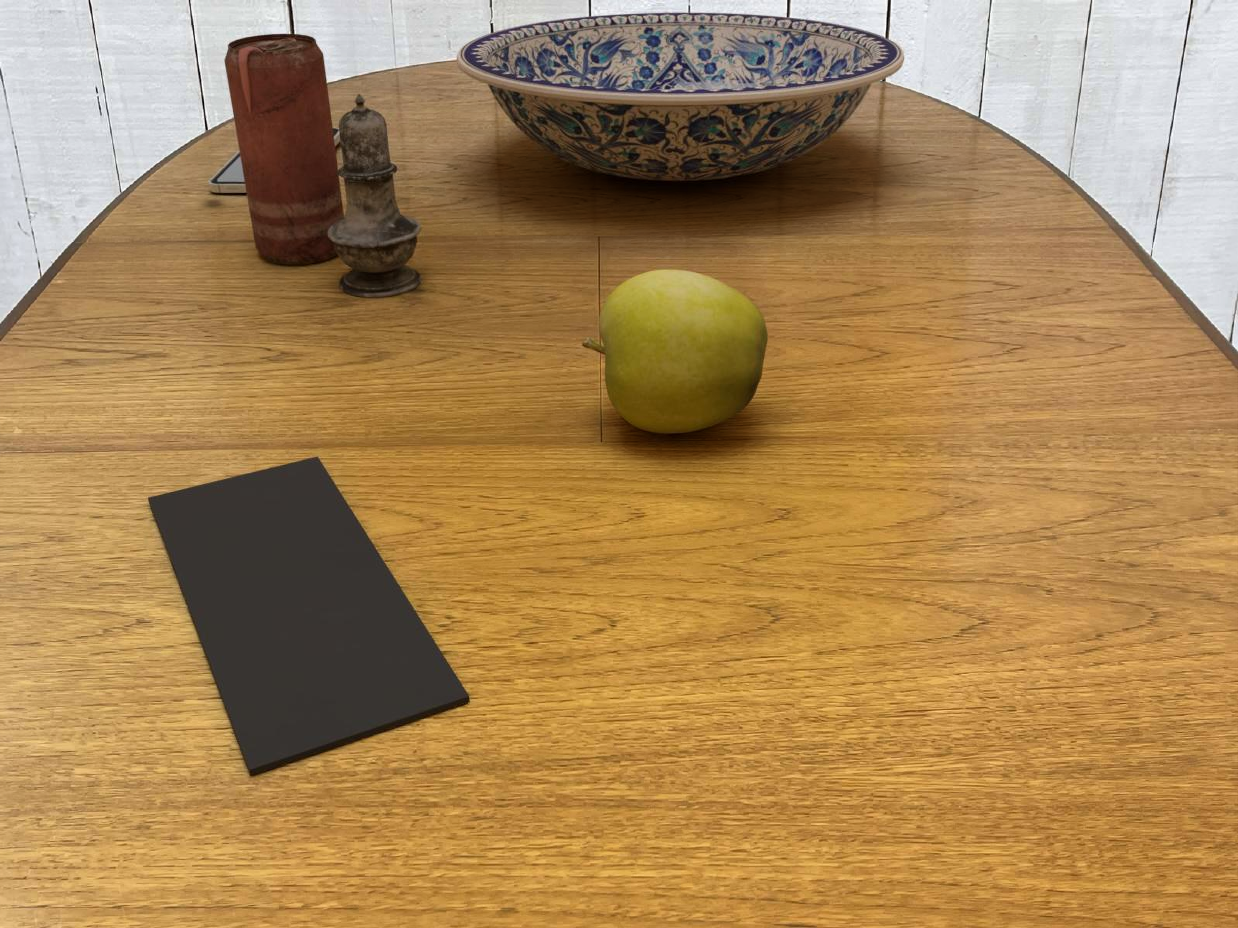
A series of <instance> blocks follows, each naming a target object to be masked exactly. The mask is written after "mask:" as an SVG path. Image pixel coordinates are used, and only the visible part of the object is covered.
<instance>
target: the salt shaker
mask: <svg viewBox="0 0 1238 928" xmlns="http://www.w3.org/2000/svg"><path fill="white" fill-rule="evenodd" d="M366 101H367V100H366V99H364V96H362V94H361V93H358V94H357V96H356V97H355V100H353V103H355V104H356V106H354V107H353V108H352V109H351V110H348V111H347V112H345V113H344V114H343V115H342V116H341V117H340V118H339V121H338V128H339V133H340V141H339V142H340V148H341V156H342V164H343V165H342V166H341V167H339V168H338V175H339V177H340V178H342V179H343V182H344V183H343V184H344V191H345V199H346V206H345V208H346V209H345V214H344V219H343V220H341V221H339V222H336V223H335V224H333V225H332V226H331V227H330V228H329V230H328V231H327V233H328V237H329V238H330V239H331V241H333V242H334V247H335V250H336V252H337V254H338V255H337V256H338V257H339V259H340V260H341V261H342V263H344V265H347V267H349V268H350V270H349V271H347V272H346V273H345V274H343V276H342V277H340V279H339V280H338V286H339V287H338V288H339V289H340V290H341V291H342V292H343V293H346V294H347V295H350V296H355V297H359V298H360V297H361V298H386V297H392V296H393V297H394V296H397V295H401V294H404V293H407V292H410V291H412V290H413V289H415V288H417V287H418V286H419V285H420V284H421V283H422V275H421V273H420V272H419V271H417V270H416V269H415V268H413V267H410V266H408V265H407V263H408V262H409V261H410V259H411V258H412V257H414V254H415V251H416V247H417V245H418V235H419V234H420V232H421V230H422V225H421V222H419V221H418V220H417V219H416V218H414V217H411V216H409V215H404V214H401V212H400V208H399V206H398V203H397V199H396V191H395V183H394V182H395V181H394V174H395V173H396V172H397V171H398V166H397V165H396V164H395V163H393V162H391V157H390V147H389V136H388V127H387V122H386V118H385V117H384V116H383V115H382V113H380V112H378V111H377V110H374V109H370V108H369V107H368V106H365V102H366Z"/></svg>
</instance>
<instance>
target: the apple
mask: <svg viewBox="0 0 1238 928" xmlns="http://www.w3.org/2000/svg"><path fill="white" fill-rule="evenodd" d="M598 317H599V318H598V332H599V336H600V339H601V341H602V343H603V345H602V344H599V343H598V342H596V341H595V340H593V339H592V337H590V336H586V337H585V340H584V341H583V342H581V346H582V347H584V348H586V349H590V350H593V351H595V352H597V353H598V354H599V353H600V354H601V355H604V366H605V367H604V381H605V382H604V383H605V387H606V392H607V396H608V399H609V400H610V403H611V405H612V407H613V408H614V409H615V411H616V413H618V415H619V416H620V417H621V418H622V419H623V420H625V421H626V422H627V423H628V424H630V425H632V426H634V427H635V428H638V429H640V430H642V431H646V432H650V433H656V434H682V433H692V432H696V431H700V430H704V429H707V428H710V427H713V426H715V425H719V424H721V423H724V422H725V421H727V420H730V419H732V418H733V417H735V416H737V415H738V414H739V413H740V412H742V411H743V410H744V409H745V408H746V407H747V406H748V405H749V404H750V402H751V401H752V400H753V398H754V397H755V395H756V392H757V390H758V387H759V384H760V382H761V379H762V376H763V369H764V362H765V357H766V350H767V345H768V341H769V340H768V339H769V338H768V335H769V333H768V329H767V324H766V320H765V317H764V315H763V314H762V312H761V310H760V309H759V307H758V306H757V305H756V304H755V303H754V302H753V301H752V300H751V299H750V298H748V297H747V296H746V295H744V294H743V293H741V292H740V291H738V290H736V289H735V288H734V287H731V286H730V285H727V284H725V283H724V282H722V281H720V280H718V279H716V278H713V277H711V276H708V275H705V274H702V273H699V272H695V271H690V270H683V269H655V270H649V271H646V272H643V273H640V274H636V275H635V276H633V277H630V278H629V279H627V280H625V281H624V282H622V283H621V284H619V285H618V286H617V287H616V288H615V289H614V290H613V291H612V292H611V293H610V294H609V295H608V296H607V298H606V299H605V301H604V302H603V304H602V307H601V309H600V311H599V316H598Z"/></svg>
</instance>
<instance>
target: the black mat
mask: <svg viewBox="0 0 1238 928" xmlns="http://www.w3.org/2000/svg"><path fill="white" fill-rule="evenodd" d="M147 502H148V504H149V508H150V511H151V512H152V515H153V518H154V521H155V523H156V526H157V529H158V531H159V535H160V537H161V539H162V542H163V544H164V548H165V550H166V554H167V556H168V558H169V561H170V563H171V566H172V569H173V573H174V574H175V577H176V580H177V582H178V585H179V588H180V591H181V593H182V596H183V598H184V602H185V604H186V607H187V610H188V612H189V614H190V618H191V621H192V623H193V626H194V628H195V631H196V633H197V636H198V637H197V638H198V639H199V642H200V645H201V647H202V650H203V653H204V656H205V658H206V660H207V663H208V666H209V669H210V672H211V674H212V677H213V681H214V682H215V685H216V688H217V691H218V692H219V696H220V698H221V701H222V704H223V706H224V710H225V712H226V715H227V718H228V720H229V723H230V725H231V728H232V731H233V733H234V737H235V739H236V742H237V744H238V747H239V750H240V752H241V755H242V757H243V758H242V759H243V760H244V763H245V766H246V769H247V771H248V774H249V776H251V777H252V776H254V775H257V774H261V773H263V772H266V771H269V770H272V769H276V768H278V767H281V766H284V765H287V764H290V763H294V762H296V761H299V760H303V759H305V758H308V757H311V756H314V755H316V754H317V755H318V754H321V753H323V752H326V751H329V750H332V749H334V748H338V747H341V746H344V745H347V744H350V743H352V742H356V741H358V740H361V739H364V738H367V737H371V736H373V735H376V734H379V733H382V732H385V731H388V730H390V729H393V728H397V727H400V726H402V725H405V724H409V723H411V722H415V721H417V720H420V719H423V718H426V717H429V716H432V715H435V714H438V713H441V712H444V711H447V710H450V709H453V708H456V707H458V706H462V705H465V704H468V703H470V702H471V700H470V695H469V693H468V692H467V689H465V686H464V685H463V684H462V682H461V681H460V679H459V678H458V675H457V674H456V673H455V671H454V670H453V668H452V666H451V665H450V663H449V662H448V660H447V658H446V657H445V655H444V654H443V652H442V651H441V648H440V647H439V646H438V644H437V643H436V641H435V640H434V638H433V637H432V635H431V633H430V632H429V630H428V629H427V627H426V626H425V623H424V622H423V621H422V618H421V617H420V615H419V614H418V613H417V611H416V609H415V608H414V606H413V605H412V603H411V602H410V600H409V599H408V598H409V597H407V595H406V594H405V592H404V590H403V589H402V587H401V585H400V584H399V582H398V581H397V579H396V578H395V576H394V575H393V572H392V571H391V570H390V568H389V567H388V565H387V564H386V562H385V561H384V559H383V558H382V556H381V554H380V552H379V551H378V549H377V548H376V546H375V544H374V543H373V542H372V540H371V538H370V537H369V535H368V534H367V532H366V530H365V528H363V526H362V524H361V522H360V521H359V519H358V518H357V516H356V515H355V513H354V511H353V510H352V508H351V506H350V505H349V504H348V502H347V500H346V498H345V497H344V495H343V494H342V493H341V491H340V489H339V487H338V486H337V485H336V483H335V480H333V478H332V477H331V476H330V473H329V472H328V471H327V469H326V467H325V465H324V464H323V462H322V461H321V459H320V457H319V456H313V457H310V458H305V459H302V460H297V461H292V462H288V463H285V464H281V465H276V466H272V467H268V468H264V469H260V470H255V471H251V472H248V473H244V474H243V473H242V474H238V475H236V476H230V477H226V478H222V479H218V480H215V481H211V482H207V483H202V484H199V485H195V486H189V487H186V488H181V489H178V490H174V491H173V490H172V491H169V492H165V493H161V494H157V495H152V496H149V497H147Z"/></svg>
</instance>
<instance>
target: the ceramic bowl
mask: <svg viewBox="0 0 1238 928" xmlns="http://www.w3.org/2000/svg"><path fill="white" fill-rule="evenodd" d="M904 61H905V52H904V50H903V48H902V47H901V45H899V44H898V43H896V42H895V41H893V40H891V39H889V38H888V37H885V36H882V35H880V34H877V33H876V32H875V33H874V32H871V31H868V30H864V29H860V28H857V27H853V26H848V25H844V24H838V23H832V22H827V21H821V20H820V21H819V20H814V19H807V18H797V17H788V16H777V15H766V14H751V13H750V14H749V13H731V12H729V13H728V12H640V13H639V12H638V13H637V12H636V13H619V14H603V15H602V14H601V15H592V16H589V15H588V16H579V17H569V18H562V19H553V20H547V21H540V22H534V23H528V24H523V25H518V26H512V27H508V28H505V29H500V30H497V31H494V32H490V33H487V34H483V35H482V36H479V37H477V38H475V39H473V40H471V41H468V42H467V43H465V44H464V45H462V46H461V47H460V49H459V50H458V51H457V54H456V64H457V67H458V68H459V70H460V71H461V72H462V73H464V74H465V75H466V76H467V77H469V78H472V79H474V80H476V81H478V82H480V83H482V84H485V85H488V88H489V90H490V92H491V94H492V96H493V97H494V99H495V100H496V102H497V104H498V105H499V106H500V108H501V109H502V111H503V112H504V114H505V115H506V116H507V117H508V119H509V120H510V121H511V122H512V124H514V126H516V128H518V129H519V130H520V131H521V132H522V133H523V134H524V135H525V136H526V137H527V138H529V140H531V141H532V142H533V143H535V144H536V145H537V146H539V148H542V149H543V150H544V151H546V152H548V153H549V154H551V155H553V156H554V157H556V158H558V159H560V160H562V161H564V162H567V163H569V164H572V165H574V166H577V167H579V168H583V169H587V170H590V171H593V172H596V173H599V174H605V175H611V176H615V177H622V178H627V179H628V178H629V179H637V180H649V181H668V182H688V181H690V182H691V181H705V180H706V181H707V180H720V179H727V178H734V177H741V176H745V175H752V174H755V173H758V172H759V173H760V172H762V171H766V170H770V169H773V168H777V167H780V166H782V165H785V164H788V163H790V162H792V161H794V160H796V159H798V158H801V157H802V156H804V155H805V154H808V153H809V152H811V151H812V150H814V149H815V148H816V147H818V146H819V145H821V144H823V143H824V142H825V141H826V140H828V139H829V138H830V137H831V136H832V135H834V133H836V132H837V131H838V130H839V129H840V128H841V127H842V126H843V125H844V124H845V123H846V121H848V120H849V119H850V117H851V116H852V115H853V113H854V112H855V111H856V110H857V109H858V107H859V106H860V104H861V103H862V101H864V98H865V96H866V95H867V93H868V92H869V89H870V88H871V86H872V84H875V83H878V82H880V81H883V80H885V79H887V78H890V77H891V76H893V75H895V73H897V72H898V71H899V70H900V69H902V67H903V64H904Z"/></svg>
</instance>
